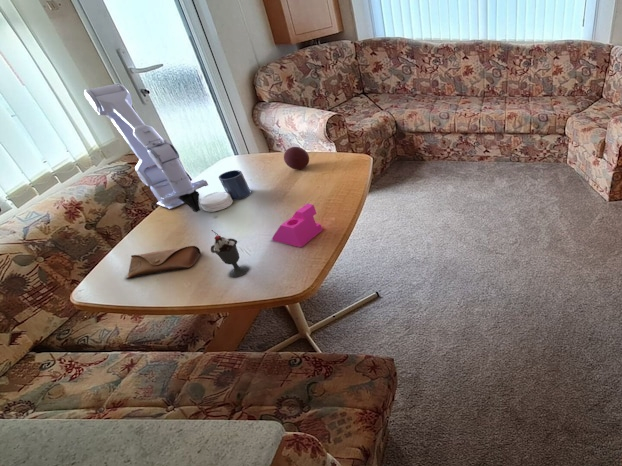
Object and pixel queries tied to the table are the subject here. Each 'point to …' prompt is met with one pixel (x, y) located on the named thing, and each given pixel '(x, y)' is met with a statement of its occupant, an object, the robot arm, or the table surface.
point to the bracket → (299, 227)
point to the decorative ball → (296, 158)
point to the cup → (235, 184)
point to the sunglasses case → (163, 261)
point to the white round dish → (216, 201)
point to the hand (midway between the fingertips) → (196, 210)
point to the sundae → (228, 254)
